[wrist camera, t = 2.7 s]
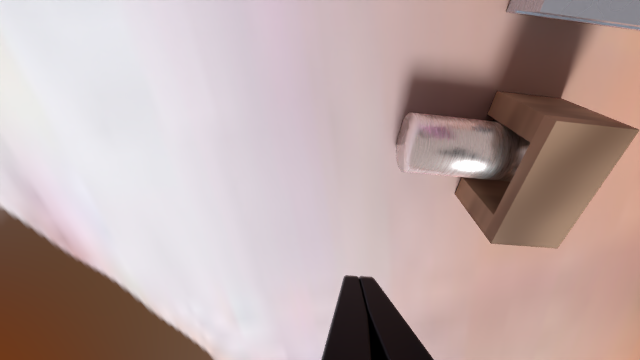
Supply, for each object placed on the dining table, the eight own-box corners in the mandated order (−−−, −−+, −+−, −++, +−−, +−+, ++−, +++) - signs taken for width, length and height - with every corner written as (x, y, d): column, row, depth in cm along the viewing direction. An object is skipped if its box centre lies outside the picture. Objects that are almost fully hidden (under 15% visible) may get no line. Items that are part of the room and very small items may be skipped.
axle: (537, 126, 20) (585, 130, 16) (524, 178, 20) (568, 191, 17) (401, 112, 19) (422, 112, 16) (393, 166, 20) (411, 177, 16)
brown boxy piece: (561, 98, 18) (639, 129, 14) (508, 198, 22) (557, 248, 17) (496, 91, 18) (556, 121, 13) (454, 193, 21) (491, 243, 17)
